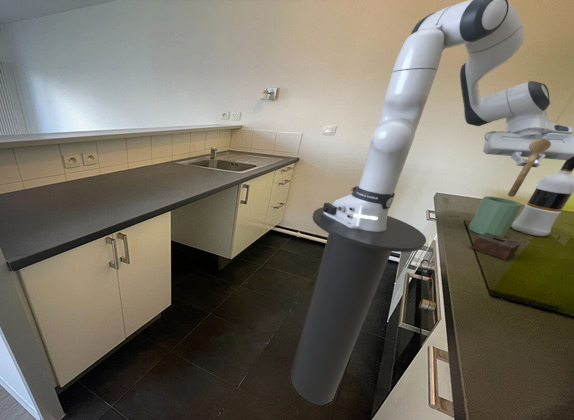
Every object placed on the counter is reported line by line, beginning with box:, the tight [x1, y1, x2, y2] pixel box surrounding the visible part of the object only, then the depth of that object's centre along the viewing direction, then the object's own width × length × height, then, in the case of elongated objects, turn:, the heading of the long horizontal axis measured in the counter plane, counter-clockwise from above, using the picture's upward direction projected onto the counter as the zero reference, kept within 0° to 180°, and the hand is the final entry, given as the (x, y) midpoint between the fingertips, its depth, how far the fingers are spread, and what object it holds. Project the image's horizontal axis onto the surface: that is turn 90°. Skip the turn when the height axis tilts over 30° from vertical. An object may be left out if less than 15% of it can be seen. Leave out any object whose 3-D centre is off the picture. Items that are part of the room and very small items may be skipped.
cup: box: [468, 195, 524, 238], centre depth 92 cm, size 9×9×13 cm
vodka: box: [510, 156, 574, 237], centre depth 91 cm, size 9×9×30 cm
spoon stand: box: [471, 233, 521, 261], centre depth 79 cm, size 8×8×4 cm
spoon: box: [507, 139, 551, 198], centre depth 81 cm, size 4×2×19 cm, turn 60°
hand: (528, 165), depth 80 cm, fingers closed on spoon, 1 cm apart
